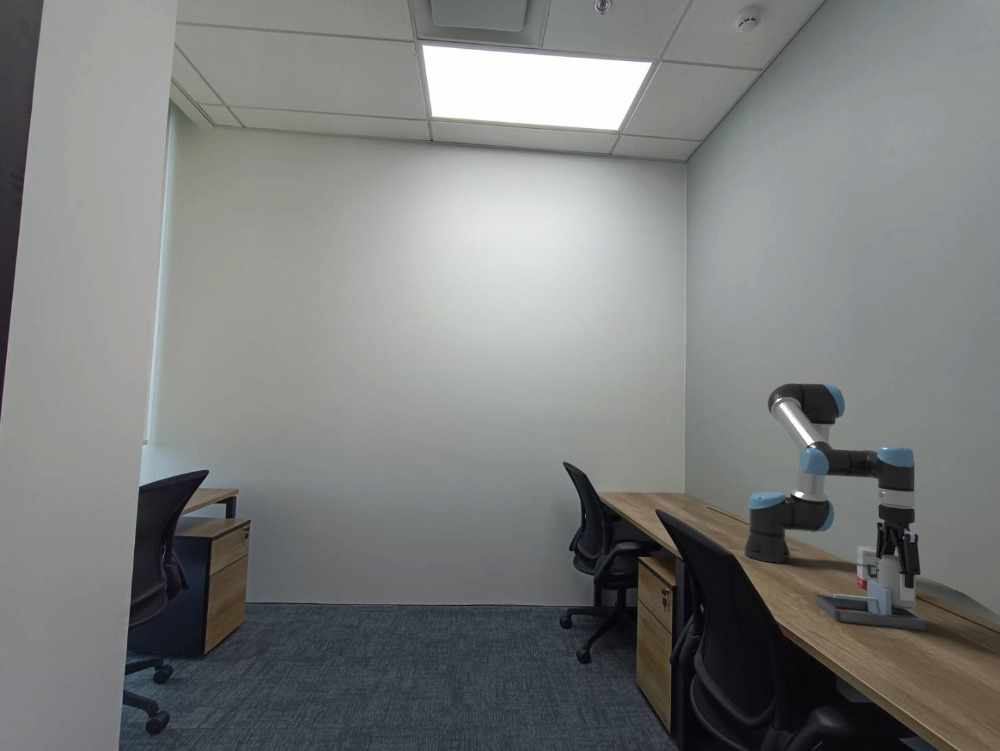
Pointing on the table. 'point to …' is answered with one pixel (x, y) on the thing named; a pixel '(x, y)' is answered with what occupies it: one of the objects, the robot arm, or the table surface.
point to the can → (894, 581)
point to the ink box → (867, 566)
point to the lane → (904, 622)
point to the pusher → (873, 598)
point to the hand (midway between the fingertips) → (897, 594)
